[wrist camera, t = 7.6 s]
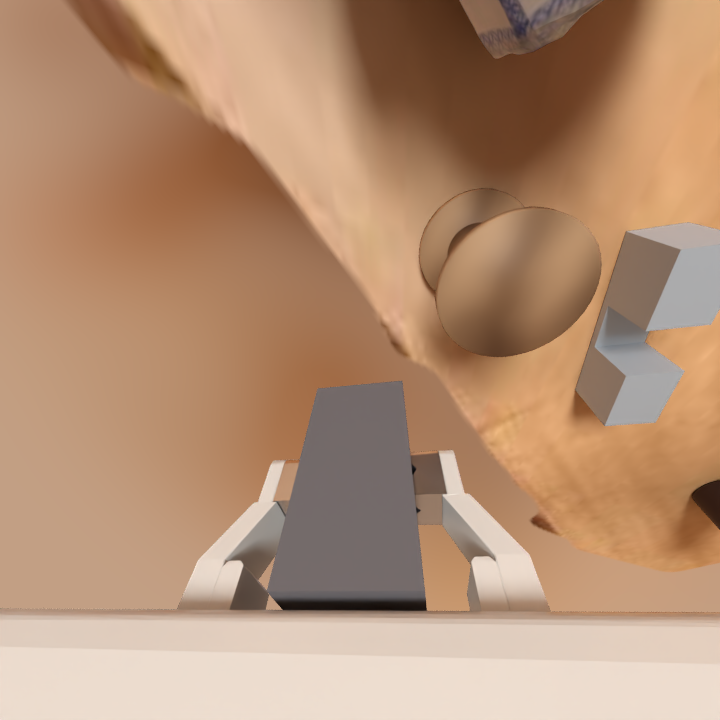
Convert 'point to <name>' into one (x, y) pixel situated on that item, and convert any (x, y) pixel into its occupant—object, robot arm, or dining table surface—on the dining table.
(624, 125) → the dining table surface
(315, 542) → the dark gray rectangular block
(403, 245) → the dining table surface
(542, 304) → the wooden door knob
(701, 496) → the bottle
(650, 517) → the dining table surface
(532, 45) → the potted plant
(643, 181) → the dining table surface
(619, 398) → the gray stepped block
